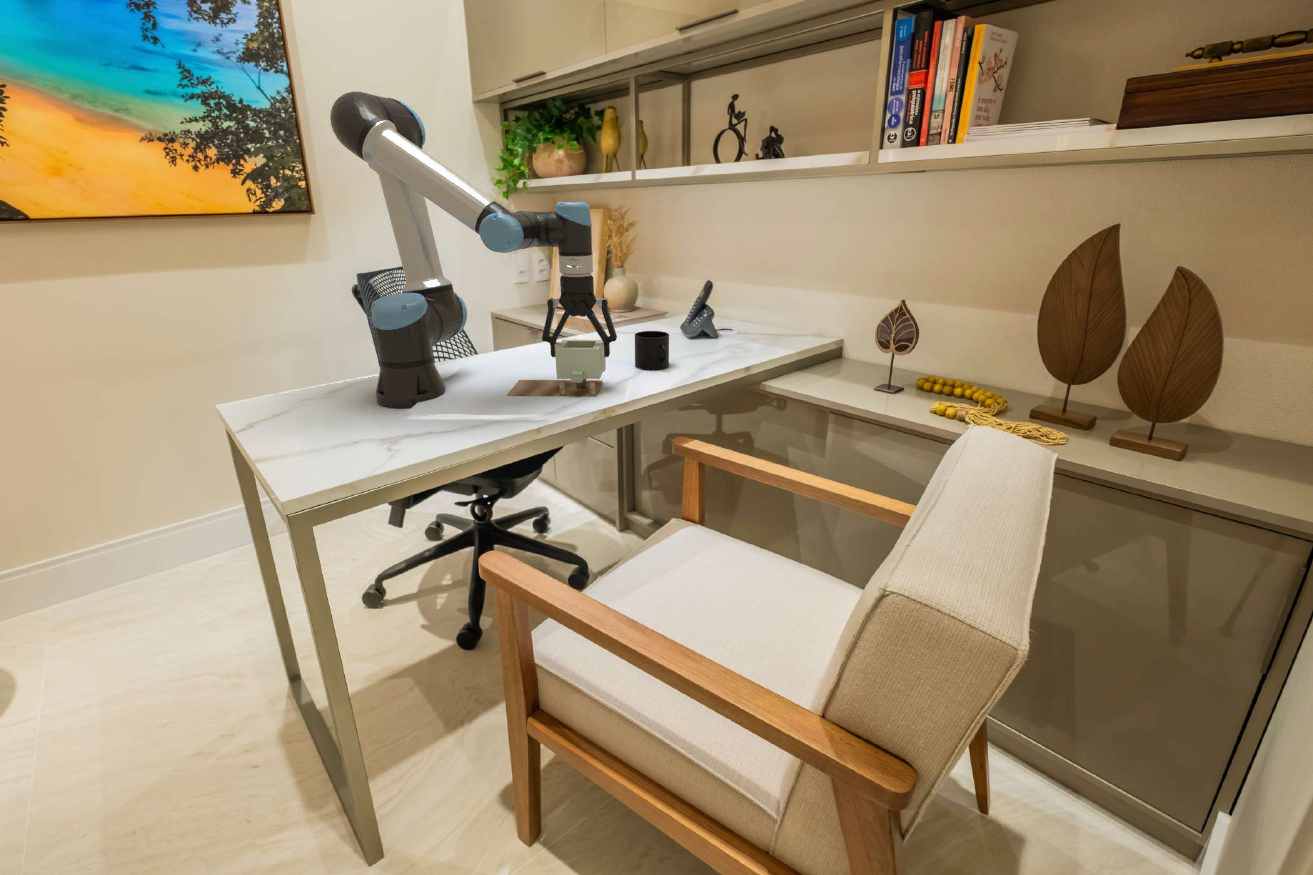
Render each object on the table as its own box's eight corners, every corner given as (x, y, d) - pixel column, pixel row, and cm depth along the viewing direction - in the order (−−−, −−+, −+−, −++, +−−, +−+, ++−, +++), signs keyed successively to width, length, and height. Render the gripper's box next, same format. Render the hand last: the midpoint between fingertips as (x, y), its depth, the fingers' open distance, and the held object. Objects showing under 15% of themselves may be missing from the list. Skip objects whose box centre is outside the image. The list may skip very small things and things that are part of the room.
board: (506, 400, 145) (505, 383, 144) (519, 384, 158) (518, 368, 156) (596, 401, 145) (596, 384, 143) (602, 385, 157) (602, 368, 156)
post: (575, 388, 150) (574, 359, 148) (577, 385, 153) (575, 356, 150) (585, 388, 150) (584, 359, 148) (587, 385, 153) (586, 356, 150)
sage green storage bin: (563, 367, 155) (562, 339, 152) (604, 367, 155) (603, 339, 152) (554, 382, 143) (552, 352, 140) (598, 382, 142) (597, 352, 140)
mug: (650, 374, 167) (650, 341, 164) (628, 364, 176) (628, 333, 173) (680, 369, 171) (680, 337, 168) (657, 360, 181) (657, 329, 178)
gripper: (523, 276, 139) (530, 374, 147) (625, 276, 138) (627, 374, 146) (530, 272, 146) (537, 366, 154) (627, 272, 145) (629, 366, 153)
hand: (581, 370), depth 150 cm, fingers closed on sage green storage bin, 10 cm apart
